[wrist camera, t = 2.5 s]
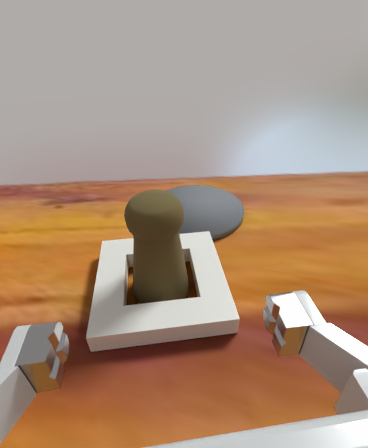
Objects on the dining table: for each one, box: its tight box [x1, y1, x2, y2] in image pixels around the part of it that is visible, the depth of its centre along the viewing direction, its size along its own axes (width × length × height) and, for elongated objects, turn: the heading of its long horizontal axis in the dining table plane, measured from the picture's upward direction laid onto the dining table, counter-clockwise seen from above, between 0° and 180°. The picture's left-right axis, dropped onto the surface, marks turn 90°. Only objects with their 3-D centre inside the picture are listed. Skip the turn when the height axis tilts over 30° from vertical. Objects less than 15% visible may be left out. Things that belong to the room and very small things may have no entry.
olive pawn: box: [124, 190, 189, 304], centre depth 27 cm, size 6×6×11 cm
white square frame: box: [86, 231, 240, 352], centre depth 30 cm, size 13×13×2 cm
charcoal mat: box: [166, 185, 244, 240], centre depth 42 cm, size 14×14×1 cm
